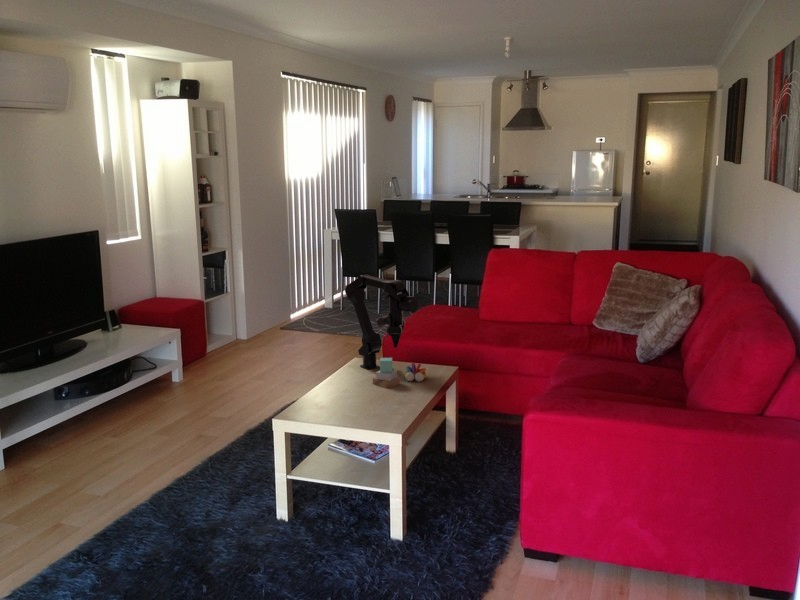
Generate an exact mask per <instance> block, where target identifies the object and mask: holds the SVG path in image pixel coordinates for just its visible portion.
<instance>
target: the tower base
mask: <svg viewBox="0 0 800 600" xmlns="http://www.w3.org/2000/svg"><path fill="white" fill-rule="evenodd" d="M400 383H401V380H400V377H398V376H397V377H396V378H395V379H393V380H391V381H385V380H378V379H376V377H373V378H372V385H375V386H378V387H381V388H384V389H387V388H390V387H394V386H397V385H400Z"/></svg>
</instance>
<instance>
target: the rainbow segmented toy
mask: <svg viewBox="0 0 800 600" xmlns="http://www.w3.org/2000/svg"><path fill="white" fill-rule="evenodd" d="M421 364H422V363H418V365H417V367H416V363H414V362H412V363H411V366H410V365H406V366H405V369H406V371H405V372H404V373H403V376H404V378H405V380H406V381H407V382H412V381H414V380H415V381H416V382H422V381H424V379H427V377H428V376H427V372H426V371H427V368H426V367H423V368H421V366H422V365H421Z"/></svg>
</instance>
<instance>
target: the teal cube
mask: <svg viewBox="0 0 800 600" xmlns="http://www.w3.org/2000/svg"><path fill="white" fill-rule="evenodd" d="M379 370H380V373H392V370H393V357H380V359H379Z"/></svg>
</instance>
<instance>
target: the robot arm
mask: <svg viewBox="0 0 800 600" xmlns="http://www.w3.org/2000/svg"><path fill="white" fill-rule="evenodd" d="M368 287H372V288H376V289H380V290H382V291H383V292H384V293H386V294H387V295H386V296H385V297H384V299H385V300H388V303H389V304H388V306H389V307H388V309H389V311H388V313H387V315H383V316H381V317H378V318H376V320H375V322H376V325H377V326H378V328H381V327H383V326H386V325H388V326H387V328H386V334H387V336H390V337H391V340H392V345H393V348H398V344H399V342H400V339H401V337H402V334H403V332H404V328H405V325H406V320H405V318H404V316H403V315H404V312H407V313H413V314H415V313H416V312H417V310H418V309H419V302H418V300H417V299H416V297H415V296H410V293H409V291H408V290H407V288H406V286H405V284H404V282H403V281H402V280H400V279H393V280H392V279H385V278H380V277H377V276H373V275H370V274H367V273H366V274H361V275H359V276H358V277H357V278H356V279H354V280H353V281H351V282H350V283H349V284H347V285H345V288H344V292H345V295H346V298H347V299H348V300H349V301H350V302H351V303H352V305H353V307H354V310H355V314H356V316H357V319H358V323H359V326H360V329H361V332H362V333H361V334H362V337H361V344H362V345H361V347H360V348H359V349H358V350H357V351H358V354H359V356H362V364H360V365H359V366H360V368H363V369H365V370H370V369H375V368H380V365H377V354H379V353H380V351H381V348H382V346H383V344H382V343H383V340H382V338H381V333H380V332H378V333H377V332H376V331H374V329H373V326H372V321H371V320H370V319H371V318H370V317H369V313H368V310H367V306H366V304H365V296H366V293H365V290H366V289H367V288H368Z"/></svg>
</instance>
